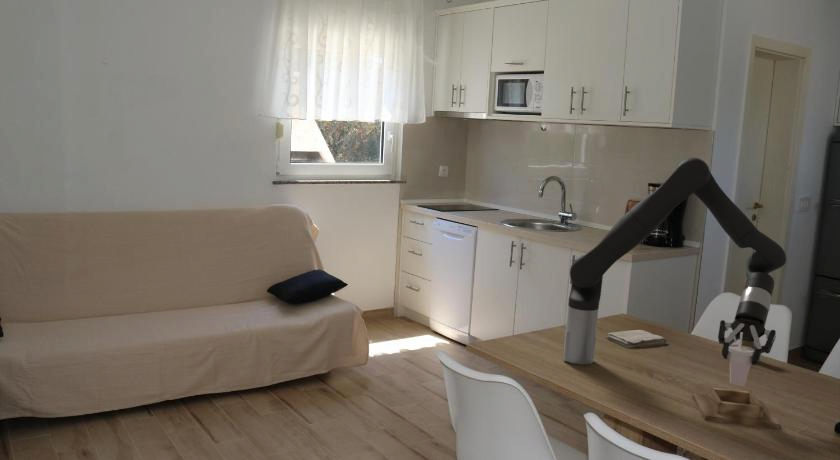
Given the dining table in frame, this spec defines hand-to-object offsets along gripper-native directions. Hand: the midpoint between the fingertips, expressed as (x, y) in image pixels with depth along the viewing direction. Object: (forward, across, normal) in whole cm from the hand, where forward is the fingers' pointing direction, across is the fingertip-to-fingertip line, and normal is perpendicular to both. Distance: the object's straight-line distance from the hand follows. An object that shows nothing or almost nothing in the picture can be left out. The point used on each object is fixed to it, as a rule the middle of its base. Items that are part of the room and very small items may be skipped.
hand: (739, 360), depth 188 cm
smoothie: (+4, 0, +6) cm, 7 cm away
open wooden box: (+9, 0, +11) cm, 15 cm away
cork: (-27, -7, +49) cm, 56 cm away
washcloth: (-22, -41, +44) cm, 64 cm away
